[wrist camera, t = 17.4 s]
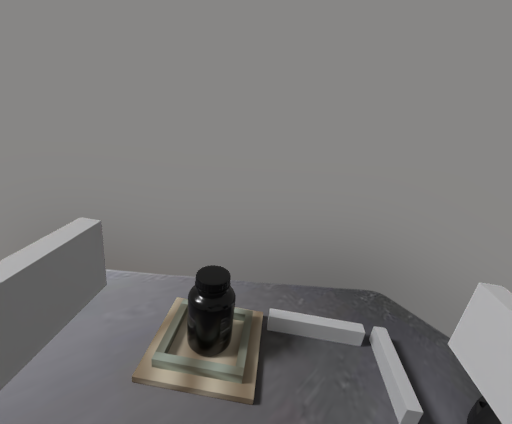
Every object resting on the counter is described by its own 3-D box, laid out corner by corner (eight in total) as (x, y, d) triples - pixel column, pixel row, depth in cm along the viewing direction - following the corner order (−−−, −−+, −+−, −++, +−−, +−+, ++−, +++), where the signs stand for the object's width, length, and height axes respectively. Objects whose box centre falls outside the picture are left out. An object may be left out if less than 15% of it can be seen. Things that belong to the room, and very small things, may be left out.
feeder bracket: (380, 341, 48) (385, 328, 47) (415, 428, 35) (423, 412, 34) (267, 321, 49) (269, 308, 48) (260, 398, 36) (264, 382, 35)
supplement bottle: (223, 319, 47) (229, 258, 43) (237, 351, 41) (246, 285, 37) (182, 328, 44) (184, 264, 40) (191, 364, 39) (195, 294, 34)
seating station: (262, 316, 50) (264, 305, 49) (252, 405, 35) (255, 391, 34) (176, 301, 51) (177, 290, 50) (132, 381, 36) (131, 368, 35)
